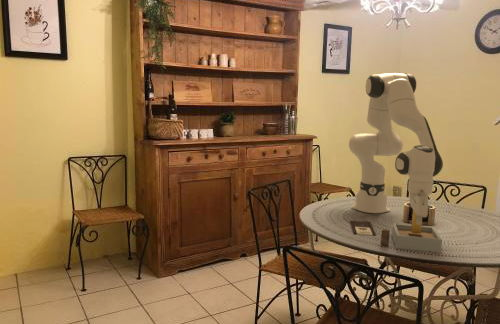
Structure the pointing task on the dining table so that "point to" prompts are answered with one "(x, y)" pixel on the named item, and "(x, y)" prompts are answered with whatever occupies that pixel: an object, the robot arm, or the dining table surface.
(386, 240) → the short dark dowel
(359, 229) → the chocolate bar
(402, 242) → the square frame
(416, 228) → the dowel
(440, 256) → the dining table surface
